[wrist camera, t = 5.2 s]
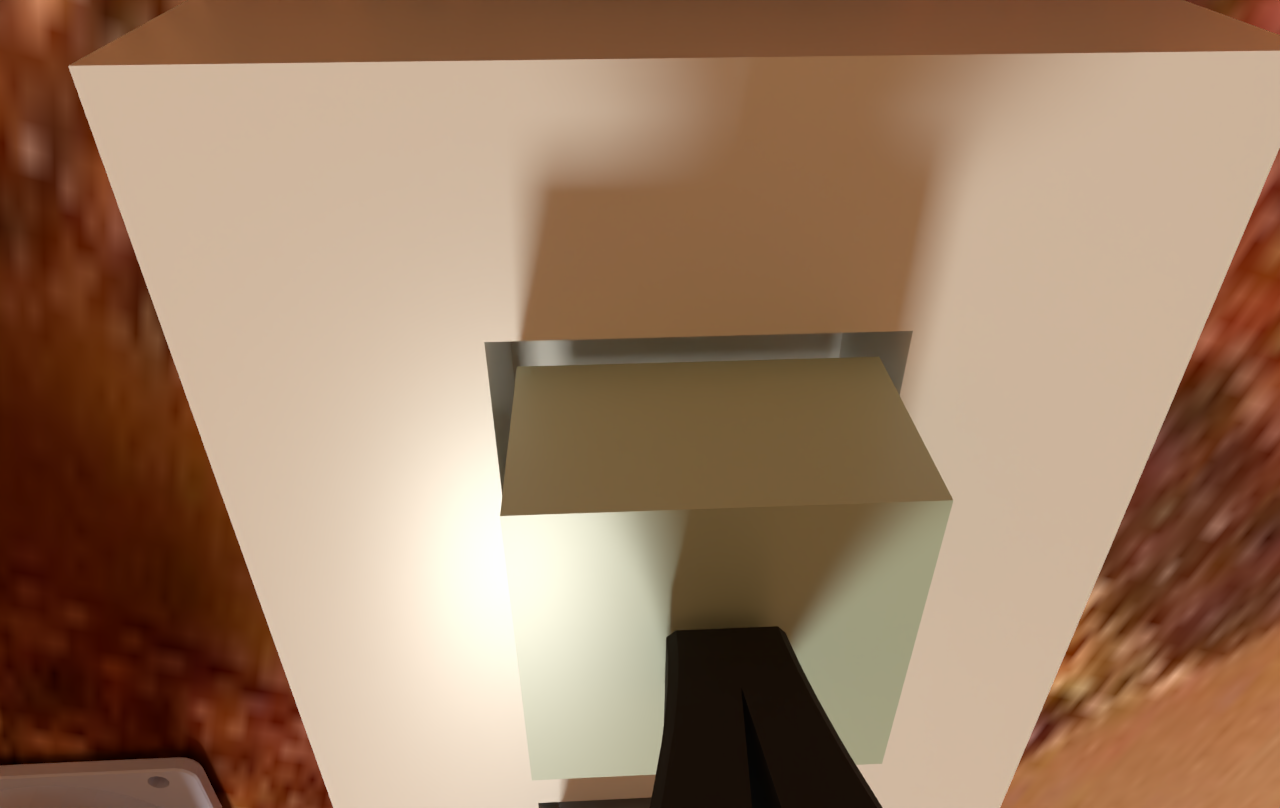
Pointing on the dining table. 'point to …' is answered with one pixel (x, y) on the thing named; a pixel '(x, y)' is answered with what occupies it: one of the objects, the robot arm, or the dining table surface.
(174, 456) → the dining table surface
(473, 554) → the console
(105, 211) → the dining table surface
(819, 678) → the sage key
